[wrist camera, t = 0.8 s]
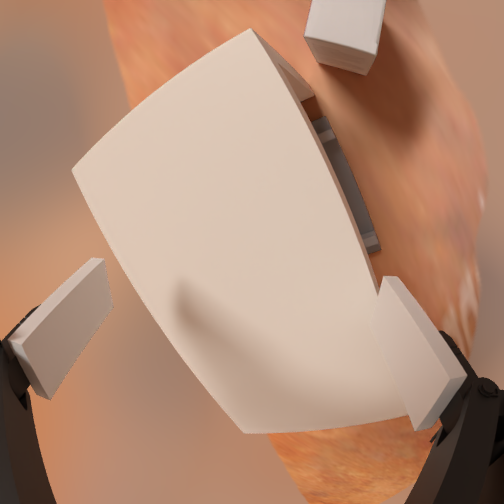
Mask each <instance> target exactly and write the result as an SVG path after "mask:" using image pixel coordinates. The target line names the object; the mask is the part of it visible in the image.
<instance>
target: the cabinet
mask: <svg viewBox="0 0 504 504" xmlns="http://www.w3.org/2000/svg"><path fill="white" fill-rule="evenodd" d="M313 96H315V95H314V93H313V91H312V90H311V88H310V86H309V84H308V83H307V82H306V81H305V80H304V79H303V78H302V76H301V75H300V74H299V73H298V72H297V71H296V70H295V69H294V68H293V67H292V66H291V65H290V64H289V63H288V62H287V61H286V60H285V59H284V58H283V57H282V56H281V55H280V54H279V53H278V52H277V51H276V50H274V49H273V48H272V47H271V46H270V45H269V44H268V43H267V42H266V41H265V40H264V39H263V38H262V37H260V36H259V35H258V34H257V33H256V32H255V31H254V30H253V29H251V28H250V29H248V30H246V31H244V32H242V33H241V34H239V35H237V36H235V37H234V38H232V39H230V40H229V41H227V42H225V43H224V44H222V45H220V46H219V47H217V48H215V49H214V50H212V51H211V52H209V53H208V54H206V55H205V56H203V57H201V58H200V59H198V60H197V61H196V62H194V63H193V64H191V65H190V66H188V67H187V68H185V69H184V70H183V71H181V72H180V73H178V74H177V75H176V76H174V77H173V78H172V79H170V80H169V81H168V82H166V83H165V84H164V85H162V86H161V87H160V88H158V89H157V90H156V91H155V92H153V93H152V94H151V95H150V96H148V97H147V98H146V99H145V100H144V101H142V102H141V103H140V104H139V105H138V106H136V107H135V108H134V109H133V110H132V111H131V112H129V113H128V114H127V115H126V116H125V117H124V118H123V119H122V120H120V121H119V122H118V123H117V124H116V125H115V126H114V127H113V128H112V129H111V130H110V131H109V132H108V133H106V135H105V136H104V137H102V138H101V139H100V140H99V141H98V142H97V143H96V144H95V145H94V146H93V147H92V149H90V150H89V151H88V152H87V153H86V154H85V156H84V157H83V158H82V159H81V160H80V161H79V162H78V163H77V164H76V165H75V166H74V167H73V168H72V172H73V174H74V176H75V179H76V181H77V183H78V185H79V187H80V189H81V192H82V194H83V195H84V198H85V200H86V202H87V204H88V206H89V208H90V210H91V212H92V214H93V216H94V218H95V220H96V221H97V223H98V225H99V227H100V229H101V231H102V233H103V234H104V236H105V238H106V240H107V242H108V244H109V246H110V247H111V249H112V251H113V253H114V254H115V256H116V258H117V260H118V261H119V263H120V265H121V267H122V268H123V270H124V272H125V273H126V275H127V277H128V278H129V280H130V281H131V283H132V284H133V286H134V288H135V289H136V291H137V293H138V294H139V296H140V298H141V299H142V301H143V302H144V304H145V305H146V307H147V308H148V310H149V311H150V313H151V314H152V316H153V317H154V319H155V320H156V322H157V323H158V325H159V326H160V328H161V329H162V331H163V332H164V333H165V335H166V336H167V338H168V339H169V340H170V342H171V343H172V345H173V346H174V347H175V349H176V350H177V352H178V353H179V354H180V356H181V357H182V358H183V360H184V361H185V362H186V364H187V365H188V366H189V368H190V369H191V370H192V372H193V373H194V374H195V376H196V377H197V378H198V379H199V381H200V382H201V383H202V384H203V386H204V387H205V388H206V389H207V390H208V392H209V393H210V394H211V396H212V397H213V398H214V399H215V400H216V402H217V403H218V404H219V405H220V406H221V408H222V409H223V410H224V411H225V412H226V414H227V415H228V416H229V417H230V418H231V419H232V420H233V422H234V423H235V424H236V425H237V426H238V427H239V428H240V429H241V430H242V432H243V433H286V432H302V431H314V430H324V429H333V428H341V427H348V426H355V425H361V424H367V423H373V422H378V421H383V420H388V419H393V418H397V417H402V416H406V415H408V412H407V410H406V407H405V405H404V402H403V400H402V397H401V395H400V392H399V390H398V387H397V385H396V383H395V380H394V378H393V375H392V373H391V371H390V368H389V366H388V364H387V362H386V359H385V357H384V355H383V352H382V350H381V348H380V346H379V344H378V341H377V339H376V337H375V335H374V333H373V330H372V328H371V326H370V322H371V319H372V315H373V312H374V309H375V305H376V302H377V298H378V294H379V291H380V289H379V286H378V283H377V280H376V277H375V274H374V271H373V268H372V265H371V262H370V259H369V257H368V254H370V253H373V252H376V251H379V250H381V247H380V244H379V241H378V238H377V235H376V233H375V230H374V227H373V224H372V222H371V219H370V216H369V214H368V211H367V208H366V206H365V203H364V201H363V198H362V196H361V193H360V191H359V188H358V186H357V183H356V181H355V179H354V176H353V174H352V172H351V169H350V167H349V165H348V162H347V160H346V158H345V156H344V153H343V151H342V149H341V147H340V145H339V143H338V141H337V138H336V136H335V134H334V132H333V130H332V128H331V126H330V124H329V122H328V120H327V118H326V116H324V117H322V118H319V119H317V120H315V121H313V122H310V120H309V118H308V116H307V114H306V112H305V110H304V108H303V107H302V105H301V103H300V102H302V101H304V100H306V99H308V98H310V97H313Z"/></svg>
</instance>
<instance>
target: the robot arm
mask: <svg viewBox="0 0 504 504" xmlns="http://www.w3.org/2000/svg"><path fill="white" fill-rule="evenodd" d="M112 309H113V302H112V297H111V293H110V287H109V282H108V277H107V271H106V265H105V259H101V258H91V259H90V260H88V261H87V262H86V263H85V264H84V265H83V266H82V267H81V268H80V269H78V270H77V271H76V272H75V273H74V274H73V275H72V276H71V277H70V278H68V279H67V280H66V281H65V282H64V283H63V284H62V285H61V286H60V287H59V288H58V289H57V290H56V291H55V292H54V293H52V294H51V295H50V296H49V297H48V298H47V299H46V300H45V301H44V302H43V303H42V304H40V305H39V306H37V307H35V308H34V309H32V310H31V311H30V312H29V313H28V314H27V315H26V316H25V318H23V319H22V320H21V321H20V323H18V324H17V325H16V326H15V327H14V328H13V329H12V330H11V331H10V333H9V334H8V335H7V336H6V337H5V338H4V339H3V340H2V341H1V340H0V504H56V501H55V498H54V495H53V493H52V489H51V486H50V484H49V481H48V477H47V474H46V470H45V467H44V463H43V459H42V456H41V452H40V448H39V444H38V439H37V435H36V429H35V424H34V419H33V413H32V407H31V400H30V395H29V392H28V391H27V388H28V387H29V386H30V384H31V386H32V388H33V389H34V391H35V393H36V394H37V395H39V396H41V397H44V398H46V399H49V400H51V399H52V397H53V395H54V394H55V392H56V391H57V389H58V388H59V386H60V384H61V383H62V381H63V379H64V378H65V376H66V375H67V373H68V372H69V370H70V369H71V367H72V366H73V364H74V363H75V361H76V360H77V358H78V357H79V355H80V354H81V352H82V351H83V350H84V348H85V347H86V345H87V344H88V342H89V341H90V339H91V338H92V336H93V335H94V334H95V332H96V331H97V329H98V328H99V327H100V325H101V324H102V322H103V321H104V320H105V318H106V317H107V316H108V314H109V313H110V311H111V310H112ZM370 326H371V328H372V330H373V333H374V335H375V337H376V339H377V341H378V344H379V346H380V348H381V350H382V352H383V355H384V357H385V359H386V362H387V364H388V366H389V368H390V371H391V373H392V375H393V378H394V380H395V383H396V385H397V387H398V390H399V392H400V395H401V397H402V400H403V402H404V405H405V407H406V410H407V412H408V415H409V418H410V420H411V423H412V426H413V428H414V431H419V430H424V429H428V428H432V426H433V425H434V424H435V423H436V421H437V420H438V419H439V418H440V420H441V423H442V426H441V428H440V429H439V430H438V431H437V433H436V434H435V435H434V436H433V437H432V439H431V440H430V442H431V443H432V442H433V441H434V439H435V441H434V444H433V446H432V449H431V451H430V453H429V456H428V458H427V460H426V462H425V464H424V467H423V469H422V471H421V473H420V475H419V477H418V479H417V481H416V483H415V485H414V487H413V489H412V491H411V493H410V494H409V496H408V498H407V500H406V502H405V503H404V504H504V390H499V388H498V386H497V385H496V384H495V383H494V382H493V381H492V380H490V379H488V378H484V377H482V378H478V376H477V375H476V373H475V372H474V370H473V369H472V367H471V366H470V364H469V363H468V361H467V360H466V358H465V357H464V355H462V352H461V351H460V349H459V348H457V345H456V344H455V342H454V341H453V339H452V338H451V337H450V336H449V335H447V334H446V333H445V332H444V331H438V330H437V329H436V327H435V326H434V324H433V323H432V321H431V320H430V319H429V317H428V316H427V315H426V313H425V312H424V310H423V309H422V308H421V306H420V305H419V304H418V302H417V301H416V300H415V298H414V297H413V296H412V294H411V293H410V292H409V290H408V289H407V288H406V287H405V285H404V284H403V283H402V281H401V280H400V279H399V278H398V276H383V279H382V283H381V287H380V291H379V294H378V298H377V302H376V305H375V309H374V312H373V315H372V319H371V322H370Z"/></svg>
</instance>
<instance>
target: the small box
mask: <svg viewBox="0 0 504 504" xmlns="http://www.w3.org/2000/svg"><path fill="white" fill-rule="evenodd" d="M385 5H386V0H311V5H310V9H309V14H308V18H307V22H306V27H305V32H304V35H303V36H304V39H305V40H306V42H307V44H308V46H309V48H310V50H311V52H312V54H313V55H314V57H315V59H316V61H317V62H318V63H322V64H326V65H329V66H333V67H337V68H341V69H344V70H348V71H351V72H355V73H358V74H361V75H365V76H366V75H367V74H368V72H369V70H370V68H371V66H372V64H373V62H374V60H375V58H376V56H377V53H378V45H379V39H380V33H381V28H382V22H383V17H384V11H385Z"/></svg>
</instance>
